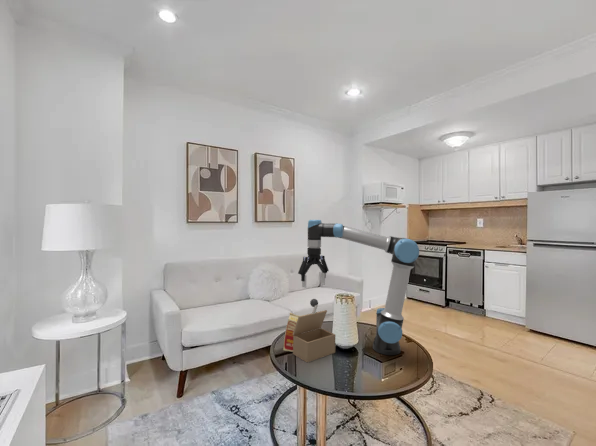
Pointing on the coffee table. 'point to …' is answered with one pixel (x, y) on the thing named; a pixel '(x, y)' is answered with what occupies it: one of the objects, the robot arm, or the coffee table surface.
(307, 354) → the carton
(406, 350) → the coffee table surface
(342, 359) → the coffee table surface
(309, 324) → the carton lid
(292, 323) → the milk carton
